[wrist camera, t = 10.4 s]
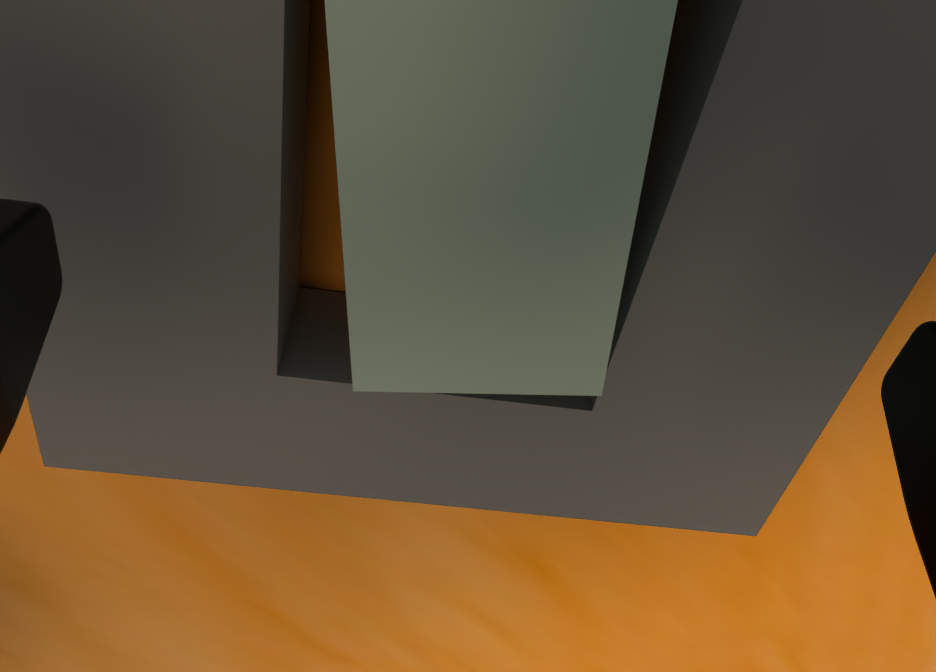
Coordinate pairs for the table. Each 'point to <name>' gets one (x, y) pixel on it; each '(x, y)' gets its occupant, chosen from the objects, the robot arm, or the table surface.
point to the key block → (490, 185)
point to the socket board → (325, 312)
